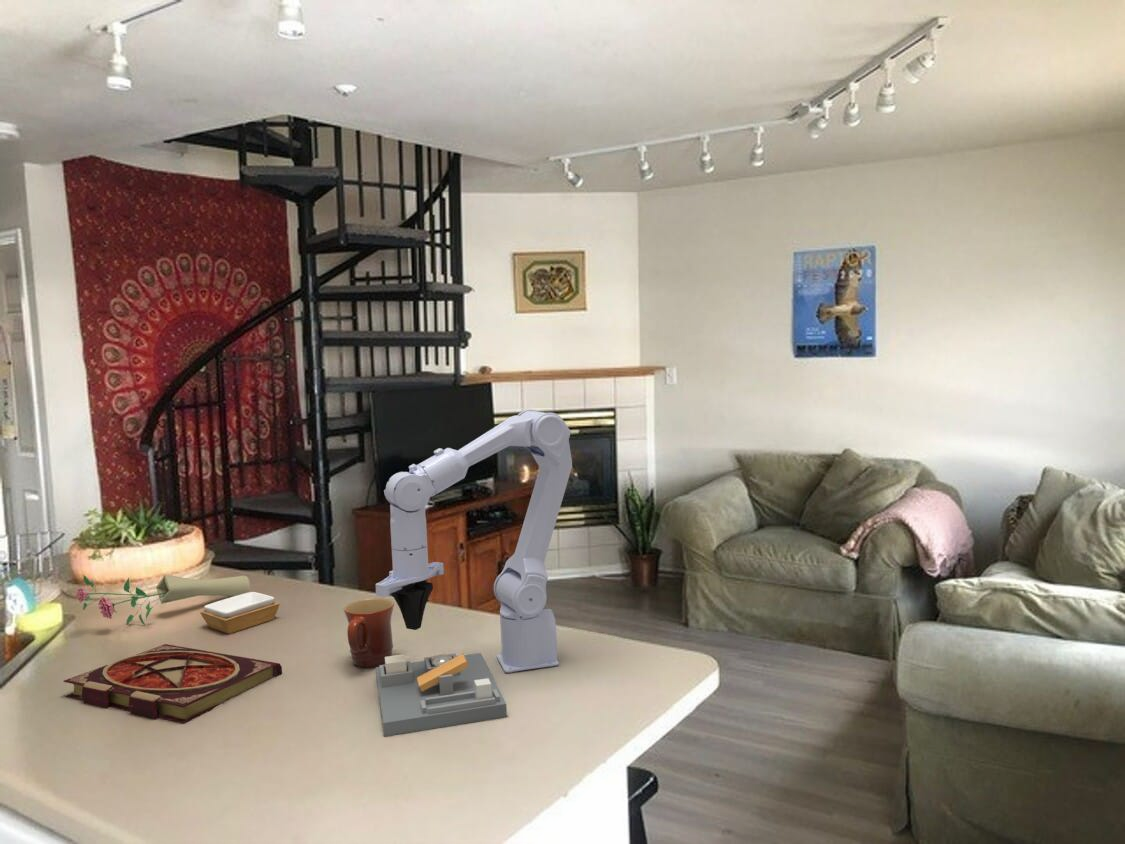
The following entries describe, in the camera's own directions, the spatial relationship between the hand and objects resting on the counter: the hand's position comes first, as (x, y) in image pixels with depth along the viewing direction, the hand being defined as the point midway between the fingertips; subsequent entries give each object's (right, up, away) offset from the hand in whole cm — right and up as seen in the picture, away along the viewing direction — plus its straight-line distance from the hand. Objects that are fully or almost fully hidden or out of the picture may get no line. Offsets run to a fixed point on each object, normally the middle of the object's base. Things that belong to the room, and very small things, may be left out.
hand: (413, 628), depth 137 cm
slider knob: (+12, -8, -10) cm, 18 cm away
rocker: (+6, -6, -6) cm, 10 cm away
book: (-42, -12, +5) cm, 44 cm away
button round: (+5, -7, +1) cm, 8 cm away
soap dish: (-42, -9, +37) cm, 57 cm away
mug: (-10, -10, +11) cm, 18 cm away
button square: (-3, -7, -1) cm, 7 cm away
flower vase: (-60, -9, +44) cm, 75 cm away
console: (+4, -10, -4) cm, 12 cm away
